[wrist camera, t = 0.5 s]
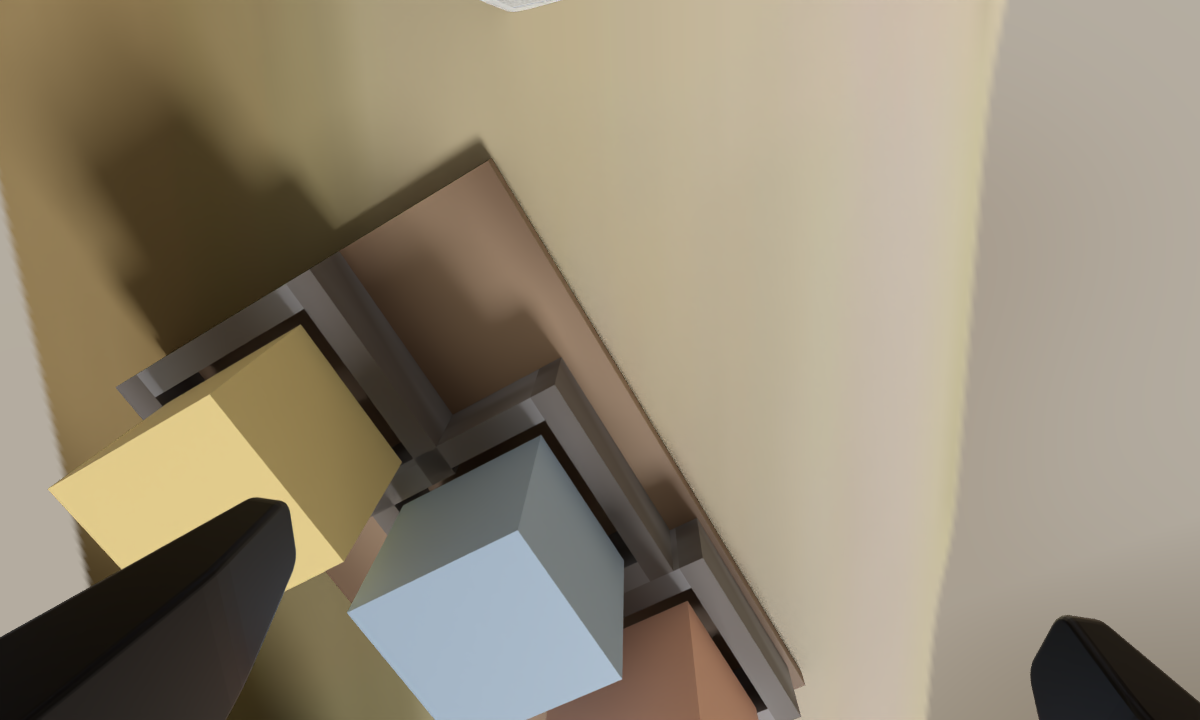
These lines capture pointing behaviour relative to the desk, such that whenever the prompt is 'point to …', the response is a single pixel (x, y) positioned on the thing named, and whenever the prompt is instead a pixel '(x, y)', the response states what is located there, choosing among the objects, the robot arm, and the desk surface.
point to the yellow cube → (241, 460)
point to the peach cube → (666, 677)
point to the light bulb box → (518, 4)
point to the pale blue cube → (497, 593)
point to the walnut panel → (497, 401)
